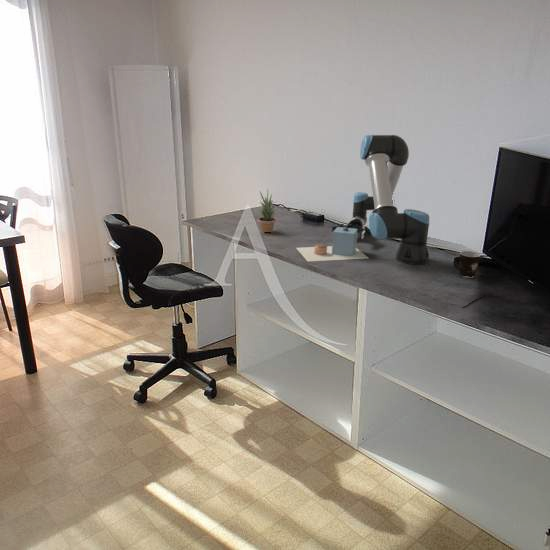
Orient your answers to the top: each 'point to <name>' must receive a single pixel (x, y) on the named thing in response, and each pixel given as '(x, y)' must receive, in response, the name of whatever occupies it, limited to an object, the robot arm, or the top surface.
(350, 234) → the box cover
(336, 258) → the mat
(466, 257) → the coffee mug
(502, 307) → the top surface
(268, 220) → the potted plant
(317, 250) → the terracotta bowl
